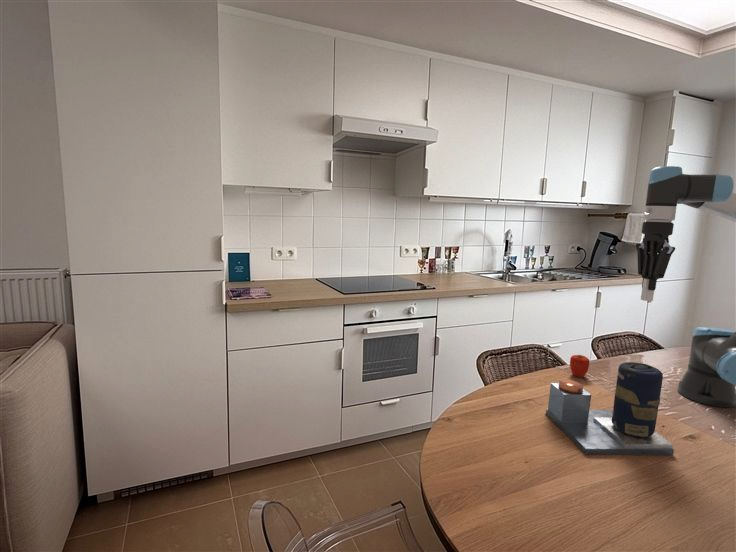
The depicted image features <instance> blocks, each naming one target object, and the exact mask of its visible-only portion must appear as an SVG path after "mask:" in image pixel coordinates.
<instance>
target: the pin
mask: <svg viewBox="0 0 736 552" xmlns="http://www.w3.org/2000/svg"><path fill="white" fill-rule="evenodd" d="M558 383H559V388H560V389H562V390H564V391H566V392H571V393H581V392H583V389H584V385H583V384H582V383H581V382H577V381H575V380H570V379H561V380H559V381H558Z"/></svg>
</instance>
